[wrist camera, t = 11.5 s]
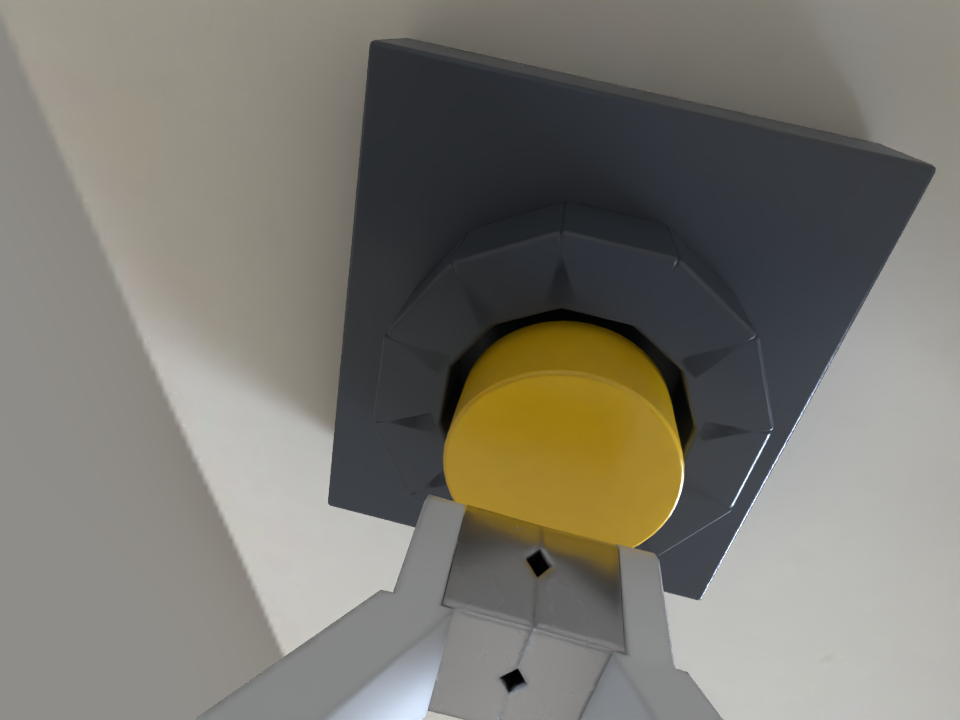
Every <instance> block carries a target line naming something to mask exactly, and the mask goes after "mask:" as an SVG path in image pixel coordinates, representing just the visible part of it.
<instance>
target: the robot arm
mask: <svg viewBox="0 0 960 720" xmlns="http://www.w3.org/2000/svg"><path fill="white" fill-rule="evenodd" d="M465 506H466V505H464V504H461V503H458V502H454V501H451V500H447V499H444V498H440V497H437V496H433V495H430V494H429V495H428V497H427V498H426V500H425V502H424V504H423V507H422V510H421V513H420V516H419V519H418V522H417V524H416V527H415V530H414V533H413V536H412V539H411V542H410V545H409V548H408V551H407V553H406V556H405V559H404V562H403V565H402V568H401V571H400V574H399V577H398V580H397V582H396V585H395V588H394V591H393V593H392V592H388V591H384V590H380V591H378V592H377V593H376V594H374V595H373V596H371V597H370V598H368V599H367V600H365V601H364V602H363V603H361V604H360V605H358V606H357V607H355V608H354V609H352V610H351V611H350V612H348V613H347V614H345V615H344V616H342V617H341V618H340V619H338V620H337V621H335V622H334V623H332V624H331V625H329V626H328V627H327V628H325V629H324V630H322V631H321V632H319V633H318V634H316V635H315V636H314V637H312V638H311V639H309V640H308V641H306V642H305V643H304V644H302V645H301V646H299V647H298V648H296V649H295V650H293V651H292V652H291V653H289V654H288V655H286V656H285V657H283V658H282V659H280V660H279V661H278V662H276V663H275V664H273V665H272V666H270V667H269V668H268V669H266V670H265V671H263V672H262V673H260V674H259V675H257V676H256V677H255V678H253V679H252V680H250V681H249V682H248V683H246V684H245V685H243V686H242V687H240V688H239V689H237V690H236V691H234V692H233V693H232V694H230V695H229V696H227V697H226V698H224V699H223V700H222V701H220V702H219V703H217V704H216V705H214V706H213V707H211V708H210V709H208V710H207V711H206V712H204V713H203V714H201V715H200V716H198V717H197V719H196V720H422V719H423V718H424V717H425V716H426V714H427V711H431V712H435V713H439V714H443V715H448V716H452V717H456V718H460V719H464V720H723V719H722V718H721V716H720V715H719V714H718V712H717V711H716V710H715V708H714V707H713V705H712V704H711V703H710V701H709V700H708V699H707V697H706V696H705V695H704V693H703V692H702V691H701V689H700V688H699V687H698V685H697V684H696V683H695V681H694V680H693V678H692V677H691V676H690V674H689V673H688V672H685V671H682V670H679V669H675V665H674V658H673V651H672V644H671V638H670V631H669V624H668V618H667V611H666V604H665V597H664V591H663V584H662V577H661V570H660V564H659V559H658V558H657V556H656V555H655V553H651V552H647V551H643V550H639V549H635V548H631V547H627V546H623V545H619V544H616V545H614V544H612V543H608V542H604V541H600V540H596V539H593V538H589V537H585V536H581V535H577V534H573V533H569V532H565V531H561V530H557V529H553V528H549V527H545V526H541V525H537V524H534V523H530V522H527V521H523V520H520V519H516V518H513V517H509V516H506V515H502V514H499V513H495V512H492V511H488V510H485V509H481V508H478V507H474V506H471V505H467V507H466V511H465ZM464 512H465V514H464ZM463 516H464V518H463ZM462 520H463V522H462ZM461 524H462V525H461ZM460 528H461V529H460ZM459 532H460V533H459ZM458 536H459V537H458ZM457 540H458V541H457ZM456 544H457V545H456ZM455 548H456V549H455ZM454 552H455V553H454ZM453 556H454V557H453ZM452 560H453V561H452Z"/></svg>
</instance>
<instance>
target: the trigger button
mask: <svg viewBox="0 0 960 720" xmlns="http://www.w3.org/2000/svg"><path fill="white" fill-rule="evenodd" d="M684 469H685V465H684V458H683V452H682V447H681V443H680V438H679V434H678V430H677V425H676V421H675V416H674V412H673V407H672V403H671V398H670V394H669V391H668V388H667V385H666V382H665V380H664V378H663V376H662V374H661V372H660V370H659V369H658V368H657V366H656V365H655V363H654V362H653V361H652V359H651V358H650V357H649V356H648V355H647V354H646V353H645V352H644V351H643V350H642V349H640V348H639V347H638V346H637V345H635V344H634V343H633V342H632V341H630V340H628V339H627V338H625V337H623V336H622V335H620V334H618V333H616V332H613V331H611V330H609V329H607V328H603V327H600V326H597V325H594V324H589V323H584V322H578V321H548V322H543V323H537V324H533V325H529V326H526V327H523V328H520V329H518V330H516V331H513V332H511V333H509V334H507V335H505V336H504V337H502V338H501V339H499V340H497V341H496V342H495V343H493V344H492V345H491V346H490V347H489V348H487V349H486V350H485V351H484V353H483V354H482V355H481V356H480V357H479V358H478V359H477V361H476V362H475V364H474V365H473V367H472V368H471V370H470V372H469V374H468V377H467V379H466V381H465V384H464V387H463V390H462V393H461V396H460V399H459V401H458V404H457V407H456V410H455V413H454V416H453V419H452V422H451V424H450V427H449V430H448V433H447V437H446V440H445V444H444V451H443V470H444V475H445V480H446V483H447V486H448V489H449V491H450V494H451V496H452V498H453V500H454V502H458V503H461V504H464V505H466V506H465V511H466V507H467V505H471V506H474V507H478V508H481V509H485V510H488V511H492V512H495V513H499V514H502V515H506V516H509V517H513V518H516V519H520V520H523V521H527V522H530V523H534V524H537V525H541V526H545V527H549V528H553V529H557V530H561V531H565V532H569V533H573V534H577V535H581V536H585V537H589V538H593V539H596V540H600V541H604V542H608V543H612V544H614V545H616V544H619V545H623V546H627V547H631V548H634V547H636V546H638V545H640V544H642V543H643V542H644V541H646V540H647V539H648V538H650V537H651V536H653V535H654V534H655V533H656V532H657V531H658V530H659V529H660V528H661V527H662V526H663V525H664V523H665V522H666V521H667V520H668V518H669V517H670V516H671V514H672V512H673V510H674V509H675V507H676V505H677V503H678V500H679V498H680V495H681V492H682V488H683V483H684ZM464 514H465V512H464Z"/></svg>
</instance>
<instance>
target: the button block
mask: <svg viewBox="0 0 960 720" xmlns="http://www.w3.org/2000/svg"><path fill="white" fill-rule="evenodd" d="M935 170H936V168H935V167H934V166H933V165H931V164H929V163H926V162H924V161H921V160H919V159H916V158H913V157H911V156H908V155H906V154H903V153H901V152H898V151H896V150H893V149H891V148H888V147H886V146H883V145H881V144H878V143H874V142H869V141H865V140H861V139H856V138H852V137H847V136H843V135H838V134H834V133H829V132H825V131H820V130H816V129H811V128H807V127H802V126H798V125H793V124H789V123H785V122H780V121H776V120H771V119H767V118H762V117H758V116H753V115H749V114H744V113H740V112H735V111H731V110H726V109H722V108H718V107H713V106H709V105H704V104H700V103H695V102H691V101H686V100H682V99H677V98H673V97H668V96H664V95H659V94H655V93H650V92H646V91H642V90H637V89H633V88H628V87H624V86H619V85H615V84H610V83H606V82H601V81H597V80H592V79H588V78H583V77H579V76H575V75H570V74H566V73H561V72H557V71H552V70H548V69H543V68H539V67H534V66H530V65H525V64H521V63H516V62H512V61H507V60H503V59H499V58H494V57H490V56H485V55H481V54H476V53H472V52H467V51H463V50H458V49H454V48H449V47H445V46H440V45H436V44H432V43H427V42H423V41H418V40H414V39H409V38H403V39H385V40H374V41H371V43H370V47H369V58H368V69H367V80H366V91H365V102H364V113H363V124H362V135H361V146H360V157H359V168H358V179H357V190H356V201H355V212H354V223H353V234H352V245H351V256H350V267H349V277H348V288H347V299H346V310H345V321H344V332H343V343H342V354H341V365H340V376H339V387H338V398H337V409H336V420H335V431H334V442H333V453H332V464H331V475H330V486H329V497H328V504H329V505H331V506H334V507H338V508H342V509H346V510H350V511H354V512H358V513H362V514H365V515H369V516H373V517H377V518H381V519H385V520H389V521H393V522H397V523H400V524H404V525H408V526H412V527H416V524H417V522H418V519H419V516H420V513H421V510H422V507H423V504H424V502H425V500H426V498H427V497H428V495H429V494H430V495H433V496H437V497H440V498H444V499H447V500H451V501H454V500H453V498H452V496H451V494H450V491H449V489H448V486H447V483H446V480H445V475H444V470H443V451H444V444H445V440H446V437H447V433H448V430H449V427H450V424H451V422H452V419H453V416H454V413H455V410H456V407H457V404H458V401H459V399H460V396H461V393H462V390H463V387H464V384H465V381H466V379H467V377H468V374H469V372H470V370H471V368H472V367H473V365H474V364H475V362H476V361H477V359H478V358H479V357H480V356H481V355H482V354H483V353H484V351H485V350H486V349H487V348H489V347H490V346H491V345H492V344H493V343H495V342H496V341H497V340H499V339H501V338H502V337H504V336H505V335H507V334H509V333H511V332H513V331H516V330H518V329H520V328H523V327H526V326H529V325H533V324H537V323H543V322H548V321H578V322H584V323H589V324H594V325H597V326H600V327H603V328H607V329H609V330H611V331H613V332H616V333H618V334H620V335H622V336H623V337H625V338H627V339H628V340H630V341H632V342H633V343H634V344H635V345H637V346H638V347H639V348H640V349H642V350H643V351H644V352H645V353H646V354H647V355H648V356H649V357H650V358H651V359H652V361H653V362H654V363H655V365H656V366H657V368H658V369H659V370H660V372H661V374H662V376H663V378H664V380H665V382H666V385H667V388H668V391H669V394H670V398H671V403H672V407H673V412H674V416H675V421H676V425H677V430H678V434H679V438H680V443H681V447H682V452H683V458H684V465H685V469H684V483H683V488H682V492H681V495H680V498H679V500H678V503H677V505H676V507H675V509H674V510H673V512H672V514H671V516H670V517H669V518H668V520H667V521H666V522H665V523H664V525H663V526H662V527H661V528H660V529H659V530H658V531H657V532H656V533H655V534H654V535H653V536H651V537H650V538H648V539H647V540H646V541H644V542H643V543H642V544H640V545H638V546H636V547H634V548H635V549H639V550H643V551H647V552H651V553H655V555H656V556H657V558H658V559H659V564H660V570H661V577H662V584H663V591H664V592H668V593H672V594H676V595H680V596H683V597H687V598H691V599H695V600H701V599H702V597H703V595H704V593H705V592H706V590H707V588H708V586H709V584H710V582H711V581H712V579H713V577H714V575H715V573H716V571H717V570H718V568H719V566H720V564H721V562H722V560H723V559H724V557H725V555H726V553H727V551H728V550H729V548H730V546H731V544H732V542H733V540H734V539H735V537H736V535H737V533H738V531H739V529H740V528H741V526H742V524H743V522H744V520H745V519H746V517H747V515H748V513H749V511H750V509H751V508H752V506H753V504H754V502H755V500H756V498H757V497H758V495H759V493H760V491H761V489H762V487H763V486H764V484H765V482H766V480H767V478H768V477H769V475H770V473H771V471H772V469H773V467H774V466H775V464H776V462H777V460H778V458H779V456H780V455H781V453H782V451H783V449H784V447H785V445H786V444H787V442H788V440H789V438H790V436H791V435H792V433H793V431H794V429H795V427H796V425H797V424H798V422H799V420H800V418H801V416H802V414H803V413H804V411H805V409H806V407H807V405H808V403H809V402H810V400H811V398H812V396H813V394H814V393H815V391H816V389H817V387H818V385H819V383H820V382H821V380H822V378H823V376H824V374H825V372H826V371H827V369H828V367H829V365H830V363H831V361H832V360H833V358H834V356H835V354H836V352H837V351H838V349H839V347H840V345H841V343H842V341H843V340H844V338H845V336H846V334H847V332H848V330H849V329H850V327H851V325H852V323H853V321H854V320H855V318H856V316H857V314H858V312H859V310H860V309H861V307H862V305H863V303H864V301H865V299H866V298H867V296H868V294H869V292H870V290H871V288H872V287H873V285H874V283H875V281H876V279H877V278H878V276H879V274H880V272H881V270H882V268H883V267H884V265H885V263H886V261H887V259H888V257H889V256H890V254H891V252H892V250H893V248H894V246H895V245H896V243H897V241H898V239H899V237H900V236H901V234H902V232H903V230H904V228H905V226H906V225H907V223H908V221H909V219H910V217H911V215H912V214H913V212H914V210H915V208H916V206H917V204H918V203H919V201H920V199H921V197H922V195H923V194H924V192H925V190H926V188H927V186H928V184H929V183H930V181H931V179H932V177H933V175H934V173H935ZM463 518H464V516H463ZM462 522H463V520H462ZM461 525H462V524H461ZM460 529H461V528H460ZM459 533H460V532H459ZM458 537H459V536H458Z"/></svg>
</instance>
